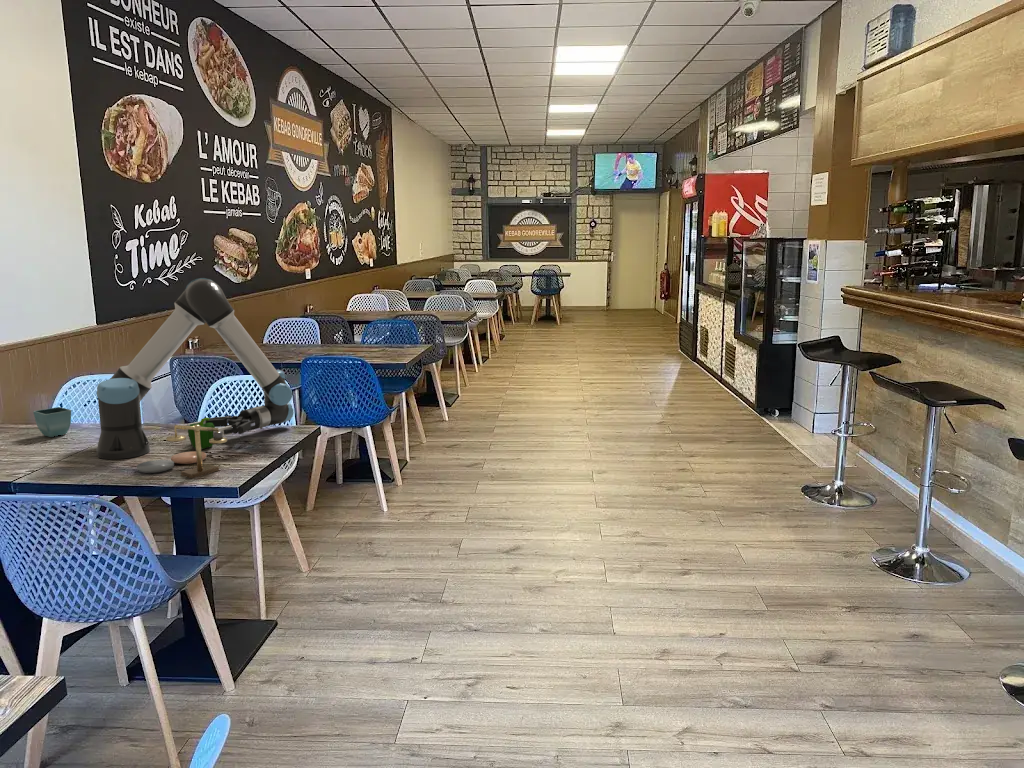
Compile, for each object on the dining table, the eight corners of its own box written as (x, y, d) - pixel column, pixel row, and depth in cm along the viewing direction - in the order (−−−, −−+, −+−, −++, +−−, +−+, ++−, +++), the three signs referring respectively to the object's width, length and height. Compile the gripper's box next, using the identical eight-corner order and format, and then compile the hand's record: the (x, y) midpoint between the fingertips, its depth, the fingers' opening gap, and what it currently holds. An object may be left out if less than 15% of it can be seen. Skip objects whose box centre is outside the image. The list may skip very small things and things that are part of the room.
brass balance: (166, 479, 212) (161, 425, 209) (221, 464, 227) (218, 413, 224) (176, 482, 209) (172, 428, 206) (232, 466, 224) (229, 415, 222)
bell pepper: (184, 450, 242) (182, 420, 240) (195, 444, 250) (193, 415, 248) (209, 451, 241) (207, 421, 240) (220, 444, 249) (218, 415, 248)
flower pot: (74, 434, 262) (72, 409, 260) (48, 439, 254) (45, 414, 253) (61, 431, 266) (58, 406, 265) (35, 436, 259) (32, 411, 257)
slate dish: (130, 471, 220) (129, 465, 219) (161, 462, 228) (161, 457, 228) (150, 476, 214) (149, 471, 214) (181, 468, 223) (181, 463, 222)
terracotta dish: (164, 462, 229) (164, 457, 228) (193, 454, 237) (192, 449, 237) (184, 467, 224) (184, 462, 223) (213, 459, 232) (212, 454, 232)
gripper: (278, 433, 256) (226, 447, 238) (231, 424, 269) (178, 436, 251) (277, 412, 254) (224, 424, 237) (230, 404, 267) (176, 415, 250)
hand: (200, 430), depth 244 cm, fingers open, 13 cm apart
